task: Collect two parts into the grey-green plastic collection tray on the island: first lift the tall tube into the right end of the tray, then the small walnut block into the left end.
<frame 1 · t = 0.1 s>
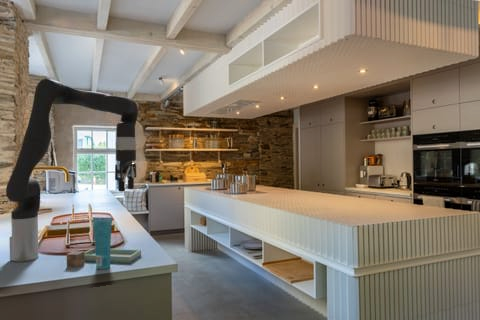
hand: (126, 190, 134), 29 cm above the counter, fingers open, 8 cm apart
walnut block: (75, 265, 132), on the counter
tube: (103, 268, 130), on the counter
tray: (110, 258, 141), on the counter
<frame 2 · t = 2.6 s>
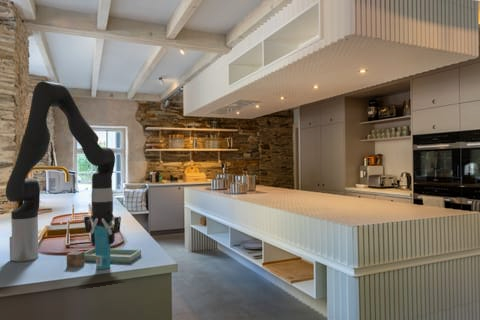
hand: (102, 243, 129), 9 cm above the counter, fingers closed on tube, 6 cm apart
tube: (103, 268, 130), on the counter, touching gripper
everything else where it was.
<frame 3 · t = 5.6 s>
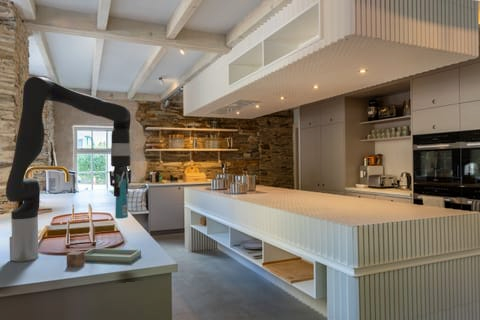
hand: (121, 195, 140), 26 cm above the counter, fingers closed on tube, 6 cm apart
tube: (121, 218, 140), point 17 cm above the counter, touching gripper
everything else where it was.
when the fingers open (11 cm above the counter, at t = 8.8 s): tube stays where it is, resting on tray.
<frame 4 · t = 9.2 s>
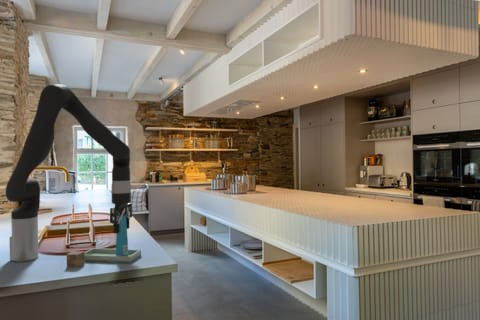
hand: (121, 230, 140), 12 cm above the counter, fingers open, 8 cm apart
tube: (121, 257, 140), point 1 cm above the counter, touching tray
everything else where it was.
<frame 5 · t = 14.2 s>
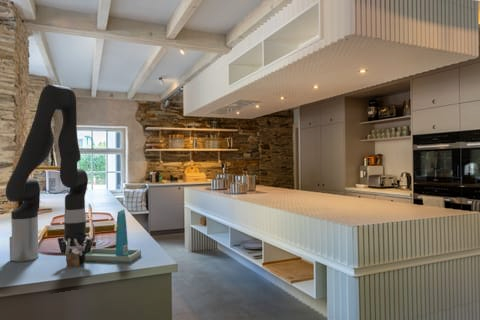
hand: (75, 263, 132), 1 cm above the counter, fingers closed on walnut block, 4 cm apart
walnut block: (75, 265, 132), on the counter, touching gripper
everything else where it was.
when the fingers open (2 cm above the counter, at t = 20.1 s): walnut block drops 1 cm, resting on tray.
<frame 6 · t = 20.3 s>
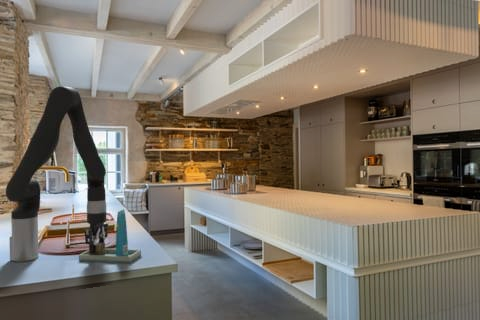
hand: (97, 251, 142), 3 cm above the counter, fingers open, 6 cm apart
walnut block: (97, 255, 142), point 1 cm above the counter, touching tray
everything else where it was.
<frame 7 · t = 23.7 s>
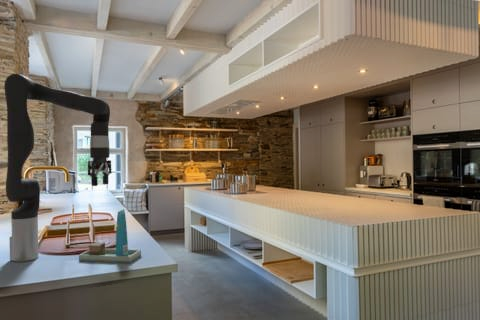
hand: (100, 185, 144), 30 cm above the counter, fingers open, 8 cm apart
nothing on the counter moved.
at the end: tube inside the target area on the tray (4.9 cm from its centre), point 0.6 cm above the tray's base; tube tilted 0°; walnut block inside the target area on the tray (5.9 cm from its centre), point 0.8 cm above the tray's base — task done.
